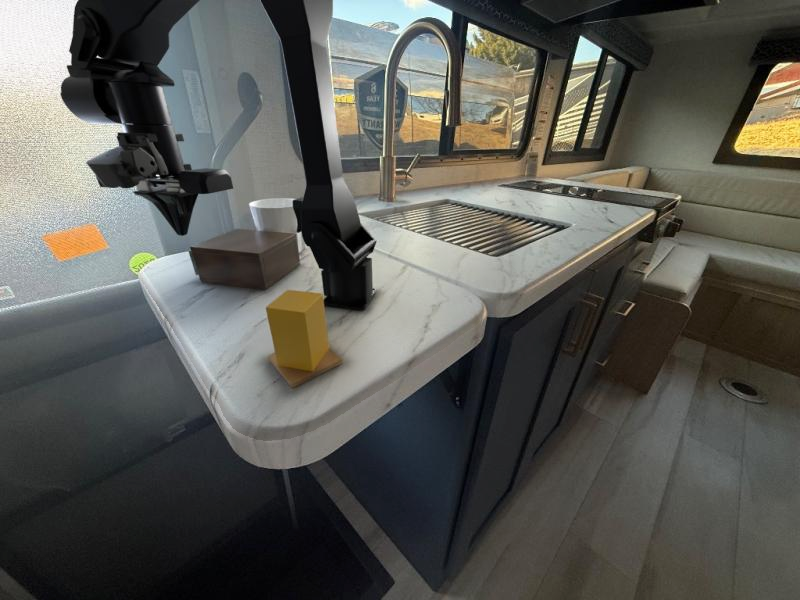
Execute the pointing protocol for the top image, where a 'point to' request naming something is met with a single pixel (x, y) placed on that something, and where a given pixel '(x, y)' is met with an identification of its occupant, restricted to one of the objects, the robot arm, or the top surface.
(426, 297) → the top surface
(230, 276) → the cabinet
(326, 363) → the coaster
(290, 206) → the cup
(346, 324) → the top surface
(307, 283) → the top surface
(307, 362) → the block
